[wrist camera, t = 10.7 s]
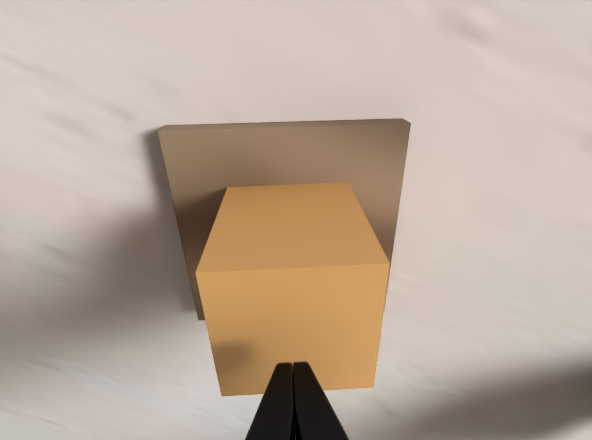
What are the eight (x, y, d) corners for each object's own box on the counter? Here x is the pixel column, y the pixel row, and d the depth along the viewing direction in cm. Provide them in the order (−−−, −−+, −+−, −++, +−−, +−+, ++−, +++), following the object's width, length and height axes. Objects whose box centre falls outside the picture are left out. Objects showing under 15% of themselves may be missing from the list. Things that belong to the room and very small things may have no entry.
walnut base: (379, 298, 19) (383, 311, 18) (202, 307, 18) (198, 320, 17) (402, 118, 14) (410, 123, 13) (165, 125, 14) (157, 130, 13)
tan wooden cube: (343, 278, 16) (373, 387, 11) (240, 283, 16) (221, 396, 11) (348, 182, 14) (390, 263, 9) (227, 187, 14) (195, 272, 9)
